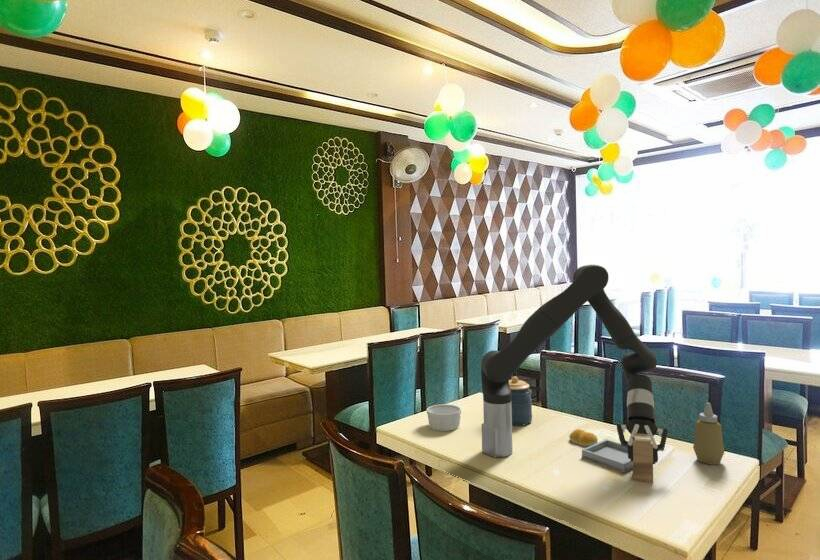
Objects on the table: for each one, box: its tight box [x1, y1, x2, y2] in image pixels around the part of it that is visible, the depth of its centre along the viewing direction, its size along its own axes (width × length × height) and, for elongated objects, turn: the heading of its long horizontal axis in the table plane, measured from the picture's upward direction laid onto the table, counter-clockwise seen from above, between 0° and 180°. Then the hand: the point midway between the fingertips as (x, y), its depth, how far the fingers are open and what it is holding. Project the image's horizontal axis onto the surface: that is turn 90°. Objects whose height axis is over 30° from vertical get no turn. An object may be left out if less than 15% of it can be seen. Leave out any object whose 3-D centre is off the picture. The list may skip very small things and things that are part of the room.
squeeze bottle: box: [692, 402, 725, 465], centre depth 143 cm, size 8×8×18 cm
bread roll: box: [568, 428, 598, 447], centre depth 162 cm, size 8×9×4 cm
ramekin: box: [426, 403, 462, 432], centre depth 180 cm, size 13×13×7 cm
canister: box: [509, 375, 533, 426], centre depth 185 cm, size 13×13×18 cm
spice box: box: [632, 433, 654, 483], centre depth 134 cm, size 5×5×12 cm
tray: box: [581, 438, 633, 473], centre depth 147 cm, size 14×14×2 cm
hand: (643, 461), depth 132 cm, fingers closed on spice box, 5 cm apart
